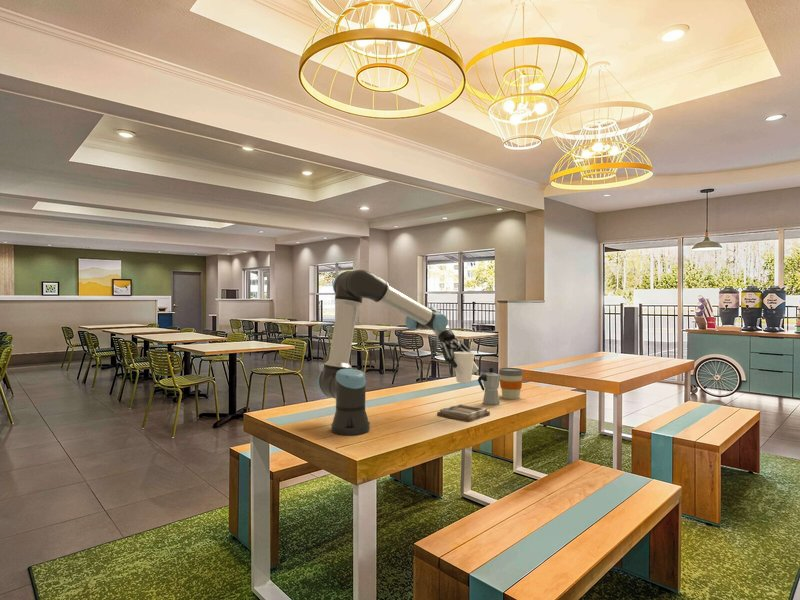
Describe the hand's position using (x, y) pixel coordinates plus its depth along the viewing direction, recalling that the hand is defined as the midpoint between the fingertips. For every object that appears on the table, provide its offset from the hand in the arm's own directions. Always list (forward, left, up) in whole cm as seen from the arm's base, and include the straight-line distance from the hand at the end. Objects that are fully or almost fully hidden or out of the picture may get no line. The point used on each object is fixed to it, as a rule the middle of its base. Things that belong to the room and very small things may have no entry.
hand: (469, 371), depth 203 cm
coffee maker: (+29, +7, -20) cm, 36 cm away
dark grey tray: (0, +3, -20) cm, 20 cm away
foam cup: (+1, +3, -5) cm, 6 cm away
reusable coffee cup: (+51, +7, -20) cm, 56 cm away
